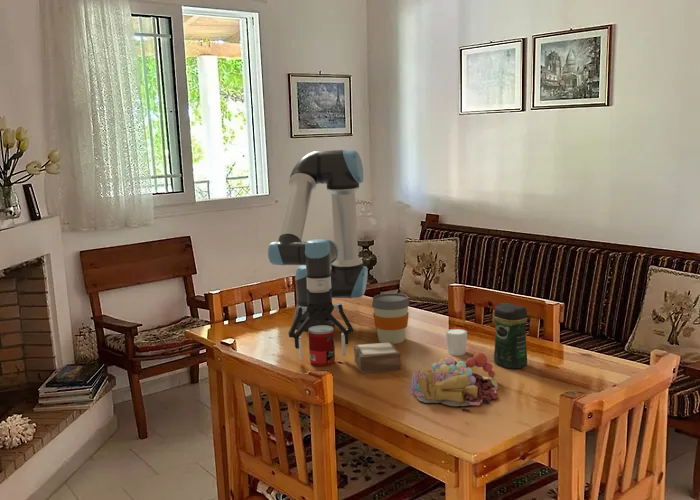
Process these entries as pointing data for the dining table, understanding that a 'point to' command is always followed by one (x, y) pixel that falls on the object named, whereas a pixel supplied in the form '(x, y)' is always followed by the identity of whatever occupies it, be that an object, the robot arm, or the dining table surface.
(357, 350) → the base
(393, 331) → the reusable coffee cup
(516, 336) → the coffee jar
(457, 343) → the shot glass
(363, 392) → the dining table surface
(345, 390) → the dining table surface
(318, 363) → the canned food
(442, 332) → the dining table surface
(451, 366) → the candy landscape model
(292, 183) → the robot arm
